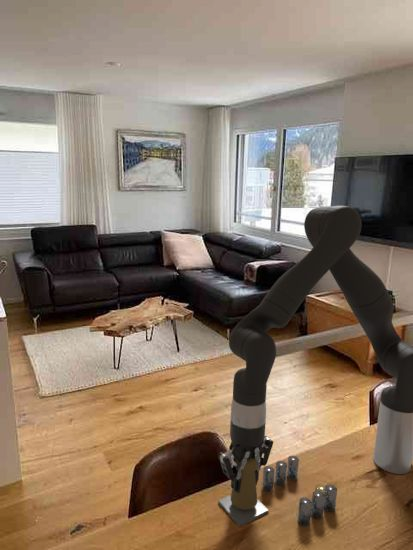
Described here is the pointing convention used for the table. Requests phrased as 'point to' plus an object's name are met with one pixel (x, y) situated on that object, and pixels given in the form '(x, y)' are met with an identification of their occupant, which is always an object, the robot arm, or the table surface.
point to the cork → (246, 486)
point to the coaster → (242, 511)
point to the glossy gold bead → (320, 488)
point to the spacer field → (305, 504)
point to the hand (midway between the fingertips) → (244, 486)
